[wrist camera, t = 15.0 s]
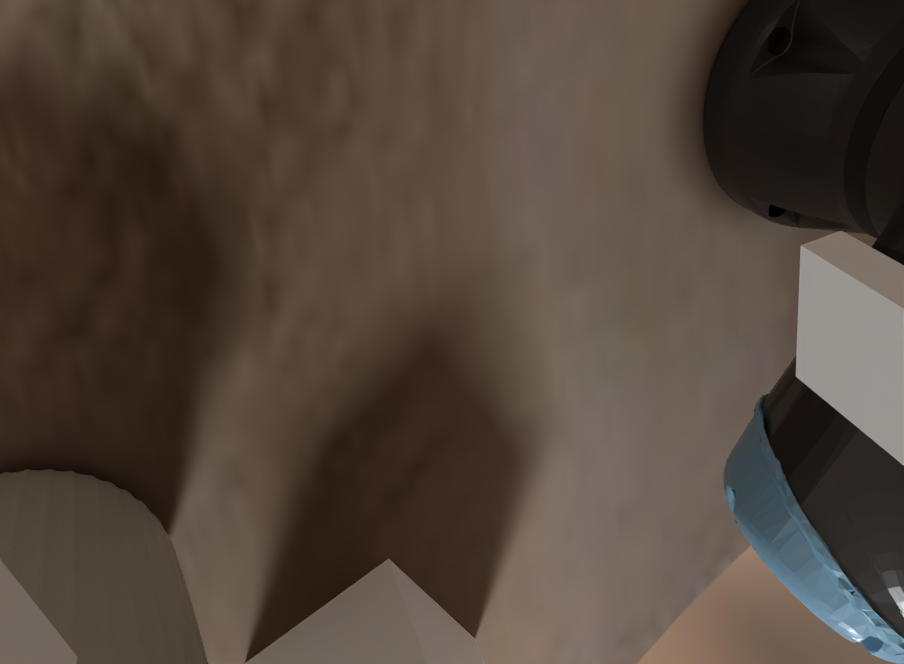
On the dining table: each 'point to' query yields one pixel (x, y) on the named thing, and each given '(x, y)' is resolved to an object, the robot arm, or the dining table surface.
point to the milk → (376, 628)
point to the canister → (97, 568)
